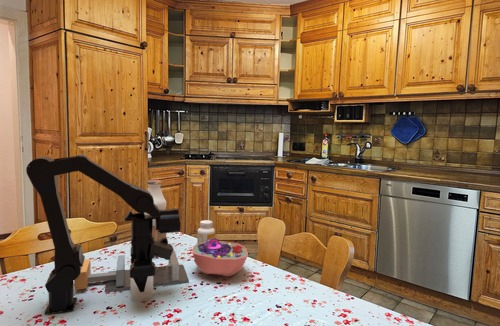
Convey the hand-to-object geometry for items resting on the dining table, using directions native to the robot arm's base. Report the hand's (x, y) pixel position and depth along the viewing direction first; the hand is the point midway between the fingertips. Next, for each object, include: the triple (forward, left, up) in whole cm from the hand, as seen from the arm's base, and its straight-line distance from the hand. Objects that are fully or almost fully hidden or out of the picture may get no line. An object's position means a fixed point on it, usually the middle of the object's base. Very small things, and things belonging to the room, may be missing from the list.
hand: (141, 288), depth 94 cm
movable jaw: (+11, +12, -1) cm, 16 cm away
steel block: (0, 0, -2) cm, 2 cm away
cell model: (+9, -25, -2) cm, 27 cm away
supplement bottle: (+27, -24, -2) cm, 36 cm away
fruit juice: (+33, -5, -2) cm, 33 cm away
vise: (+11, -2, -2) cm, 11 cm away
